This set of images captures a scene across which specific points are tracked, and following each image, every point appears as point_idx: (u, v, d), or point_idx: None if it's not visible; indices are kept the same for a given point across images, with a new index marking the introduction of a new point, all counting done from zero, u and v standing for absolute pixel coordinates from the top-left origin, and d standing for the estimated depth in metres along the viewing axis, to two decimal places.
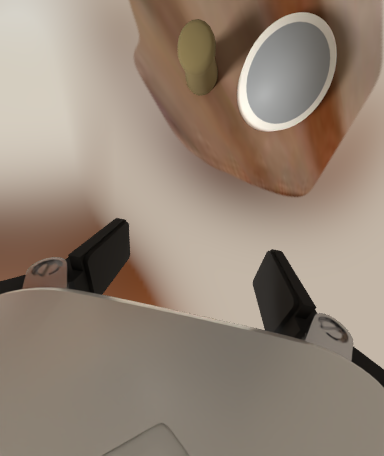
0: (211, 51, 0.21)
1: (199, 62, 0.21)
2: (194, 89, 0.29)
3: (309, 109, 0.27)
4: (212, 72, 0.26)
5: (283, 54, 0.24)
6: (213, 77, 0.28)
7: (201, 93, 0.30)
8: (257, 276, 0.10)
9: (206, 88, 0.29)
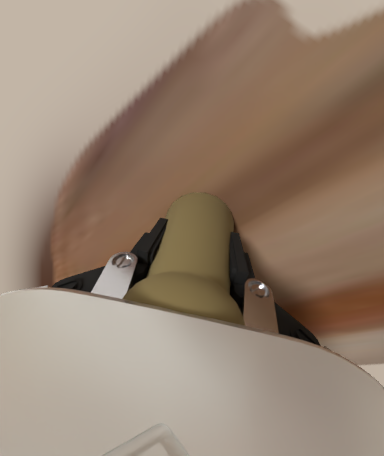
0: None
1: None
2: None
3: None
4: None
5: None
6: None
7: None
8: None
9: None
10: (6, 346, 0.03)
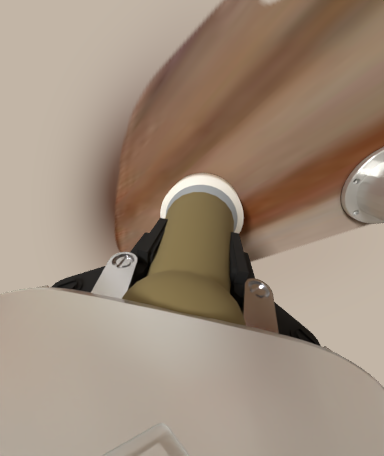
0: None
1: None
2: None
3: None
4: None
5: None
6: None
7: None
8: None
9: None
10: (6, 346, 0.03)
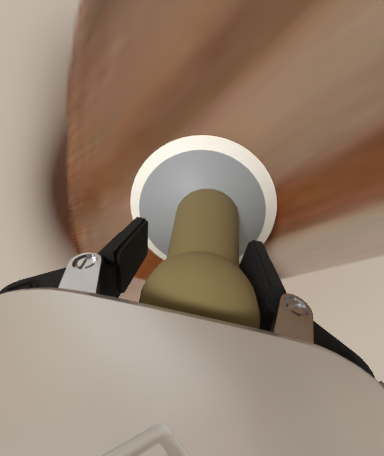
0: None
1: None
2: (175, 217, 0.13)
3: (164, 254, 0.18)
4: None
5: None
6: None
7: None
8: (240, 266, 0.11)
9: None
10: (6, 346, 0.03)
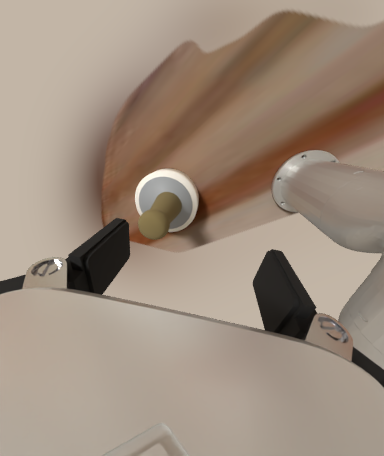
0: (149, 238, 0.27)
1: (141, 231, 0.26)
2: None
3: None
4: None
5: None
6: None
7: None
8: (257, 276, 0.10)
9: None
10: (6, 346, 0.03)
